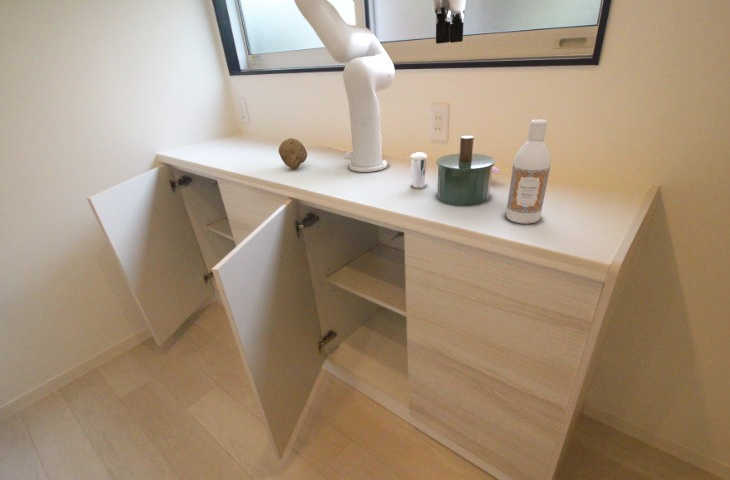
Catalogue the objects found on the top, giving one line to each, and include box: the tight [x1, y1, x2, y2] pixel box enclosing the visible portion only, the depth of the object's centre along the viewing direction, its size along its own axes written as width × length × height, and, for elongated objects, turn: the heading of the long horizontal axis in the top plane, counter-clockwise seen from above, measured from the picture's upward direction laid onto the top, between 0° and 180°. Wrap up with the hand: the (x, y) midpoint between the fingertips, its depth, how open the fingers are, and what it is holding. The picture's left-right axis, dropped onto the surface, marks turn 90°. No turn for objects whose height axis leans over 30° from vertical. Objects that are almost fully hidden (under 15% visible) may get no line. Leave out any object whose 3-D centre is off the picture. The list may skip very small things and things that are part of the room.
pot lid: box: [436, 135, 496, 171], centre depth 86 cm, size 14×14×7 cm
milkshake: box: [407, 151, 428, 189], centre depth 98 cm, size 4×5×10 cm
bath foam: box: [505, 119, 552, 225], centre depth 74 cm, size 7×7×20 cm
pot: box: [436, 165, 493, 207], centre depth 90 cm, size 13×13×8 cm
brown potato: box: [278, 137, 308, 171], centre depth 121 cm, size 9×9×10 cm
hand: (449, 42), depth 87 cm, fingers open, 9 cm apart
